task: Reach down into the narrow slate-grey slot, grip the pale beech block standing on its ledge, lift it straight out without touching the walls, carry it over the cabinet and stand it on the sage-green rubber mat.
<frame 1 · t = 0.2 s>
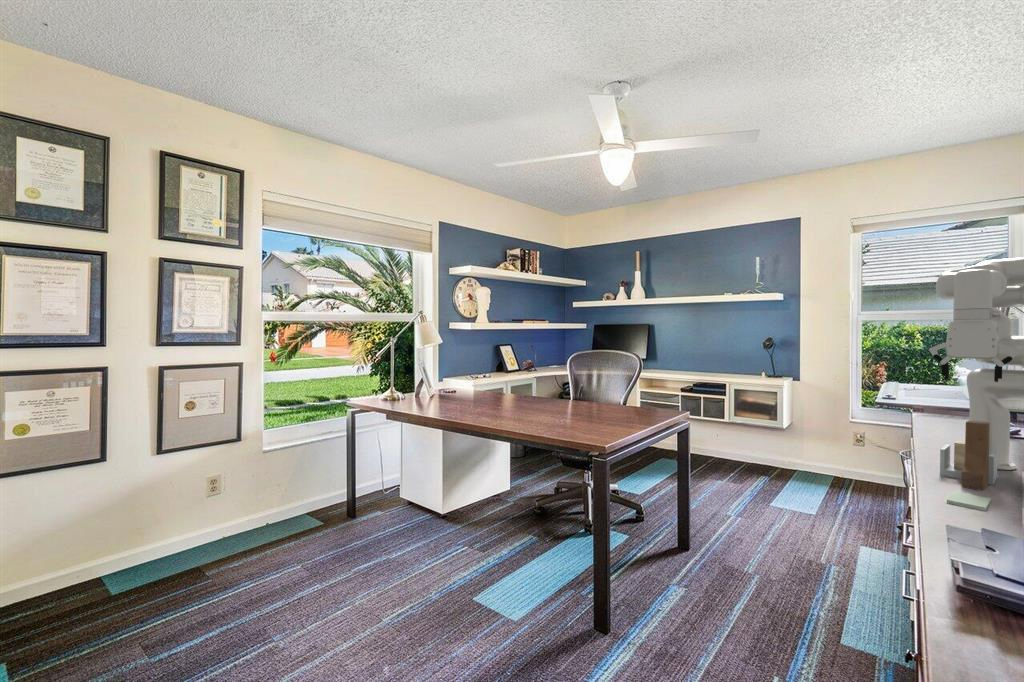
hand: (970, 380, 130), 31 cm above the cabinet, tool pointing down, fingers open, 9 cm apart
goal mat: (968, 502, 125), on the cabinet
wooden block: (974, 486, 138), on the cabinet
slot guard: (968, 476, 147), on the cabinet
beech block: (968, 469, 146), point 2 cm above the cabinet, touching slot guard
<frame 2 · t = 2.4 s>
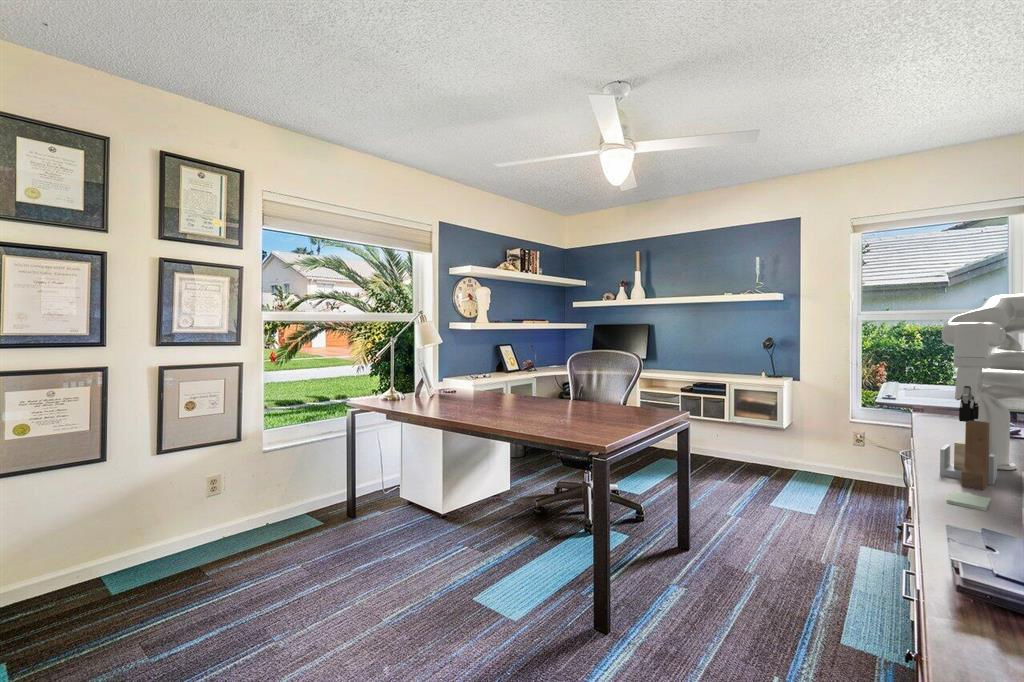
hand: (968, 420, 146), 17 cm above the cabinet, tool pointing down, fingers open, 9 cm apart
wooden block: (974, 486, 138), on the cabinet, touching gripper
everything else where it was.
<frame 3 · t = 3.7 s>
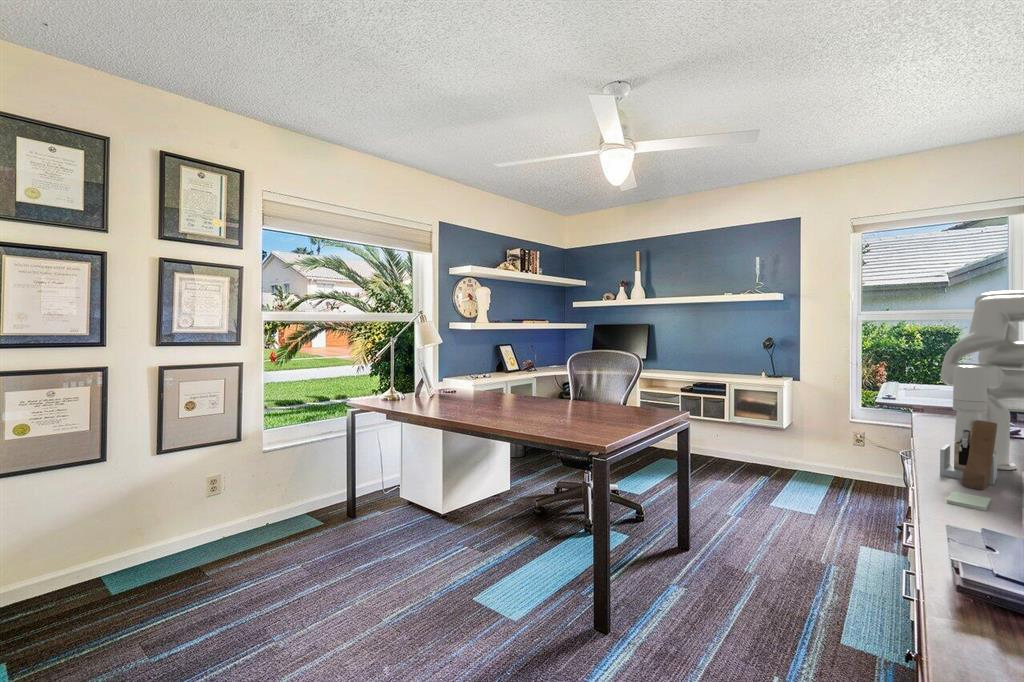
hand: (968, 462, 146), 4 cm above the cabinet, tool pointing down, fingers open, 9 cm apart
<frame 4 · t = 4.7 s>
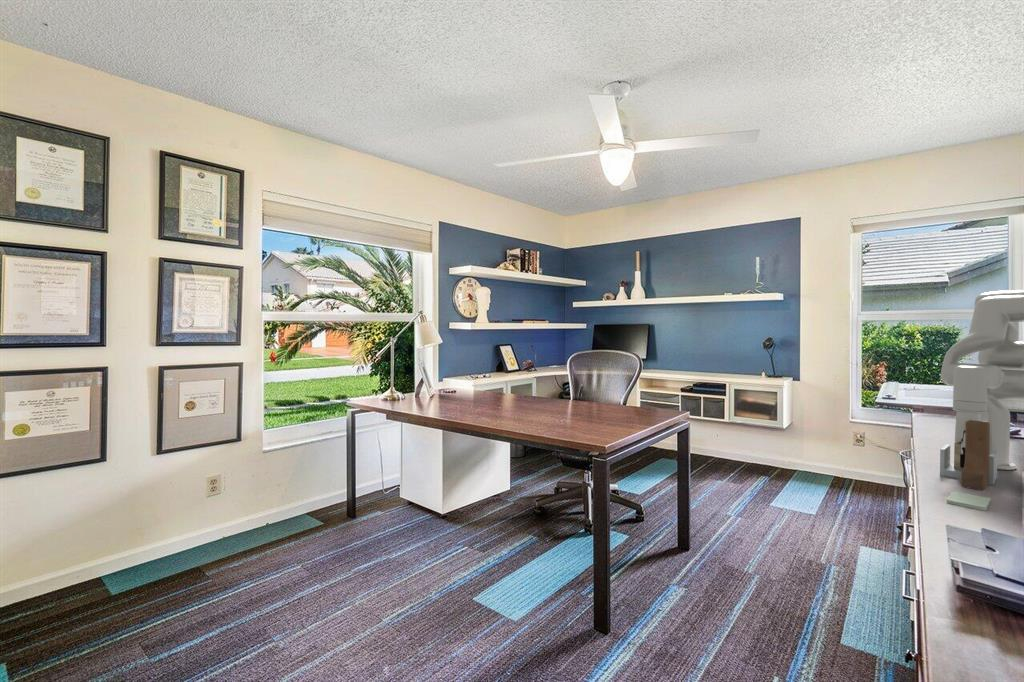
hand: (968, 466, 146), 3 cm above the cabinet, tool pointing down, fingers closed on beech block, 4 cm apart
wooden block: (975, 486, 138), on the cabinet
beech block: (968, 469, 146), point 2 cm above the cabinet, touching gripper, slot guard
when the fingers open (3 cm above the cabinet, at t = 13.5 s): beech block drops 1 cm, resting on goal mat.
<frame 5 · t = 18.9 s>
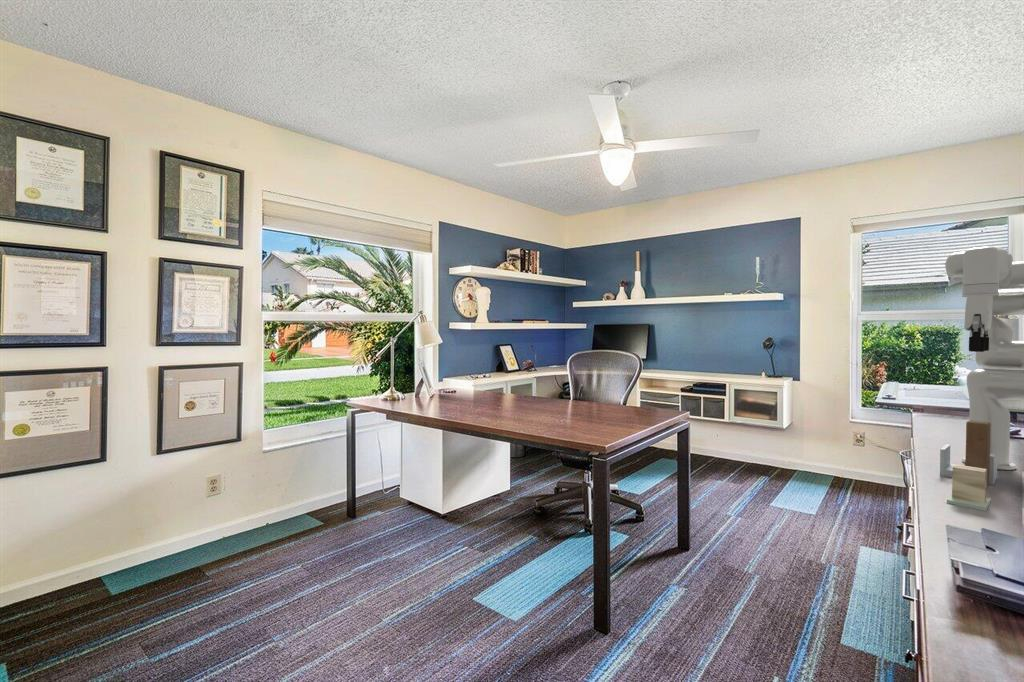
hand: (978, 351, 139), 38 cm above the cabinet, tool pointing down, fingers open, 9 cm apart
beech block: (968, 498, 125), point 1 cm above the cabinet, touching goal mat
everything else where it was.
at the end: beech block 0.2 cm off-centre on the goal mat, point 0.8 cm above the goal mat's base; beech block tilted 0°; the gripper is holding nothing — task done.
